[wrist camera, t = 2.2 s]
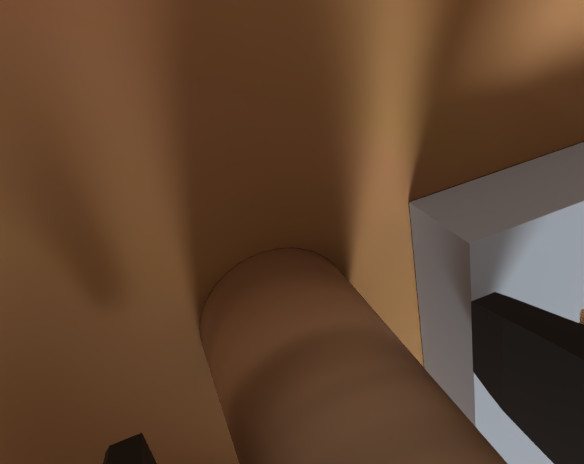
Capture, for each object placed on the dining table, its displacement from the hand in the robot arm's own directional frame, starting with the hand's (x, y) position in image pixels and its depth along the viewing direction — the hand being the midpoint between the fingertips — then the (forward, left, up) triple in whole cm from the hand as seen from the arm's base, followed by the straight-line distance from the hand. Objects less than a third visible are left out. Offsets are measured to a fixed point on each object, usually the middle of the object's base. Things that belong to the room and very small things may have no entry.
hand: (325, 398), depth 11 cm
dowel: (0, 0, -3) cm, 3 cm away
